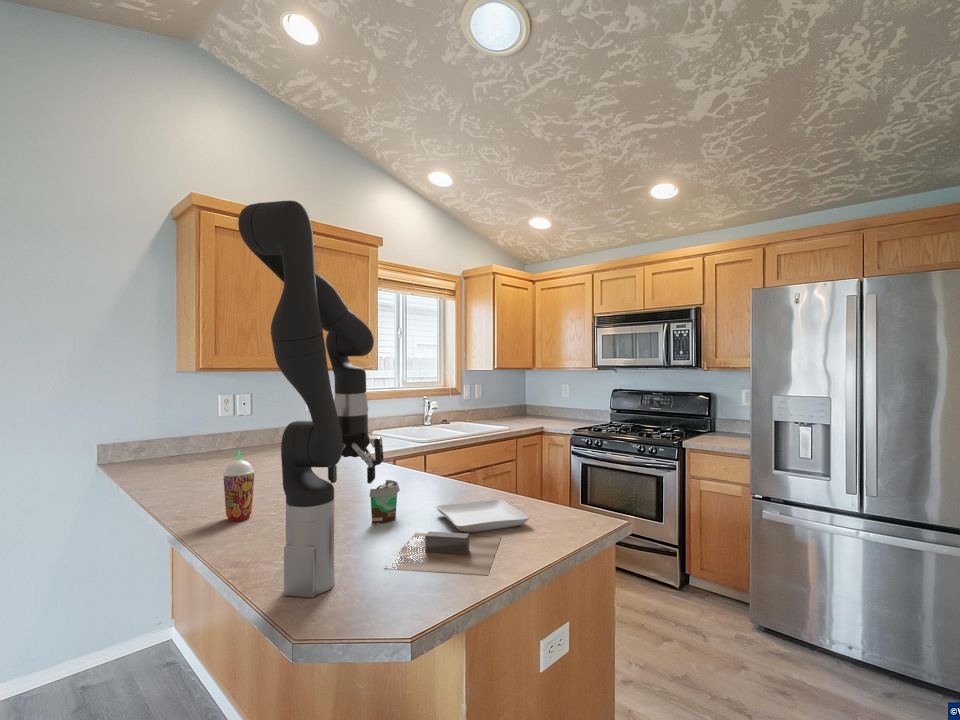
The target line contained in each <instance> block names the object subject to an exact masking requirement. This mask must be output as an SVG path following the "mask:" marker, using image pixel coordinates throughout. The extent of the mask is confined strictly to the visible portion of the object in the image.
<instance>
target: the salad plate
mask: <svg viewBox="0 0 960 720" xmlns="http://www.w3.org/2000/svg"><path fill="white" fill-rule="evenodd" d="M436 510H437V511H438V512H439V513H440V514H441V515H442V516H444V517H445V518H446V519H447V520H448V522H449V521H450V523H451V524H453V526H454V527H455V528H456V529H457V530H458V531H460V532H462V533H463V532H464V533H476V532H484V531H491V530H499V529H500V530H501V529H506V528H512V527H516V526H517V527H518V526H521V525H522V524H525V523H526V522H528V520H529V518H530V517H529V516H528V515H526V514H525V513H523V512H522V511H520V510H519V509H517V508H516V507H514V506H512V504H509V503H507V502H506V501H504V500H502V499H498V498H497V499H487V500H486V499H485V500H475V501H473V500H472V501H465V502H463V501H462V502H457V503H449V504H448V503H447V504H440V505H436Z"/></svg>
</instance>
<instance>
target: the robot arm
mask: <svg viewBox="0 0 960 720" xmlns="http://www.w3.org/2000/svg"><path fill="white" fill-rule="evenodd" d="M237 223H238V231H239V235H240V237H241V239H242V241H243V242H244V243H245V245H246V247H248V249H249V250H250V251H251V252H252V253H253V254H254V255H255V256H256V257H257V258H258V259H259V260H260V261H261V262H262V263H263V264H264V265H265V266H266V267H267V268H268V269H270V270H271V272H273V274H274V275H276V277H277V278H279V279H280V281H282V283H283V288H282V292H281V296H280V299H279V301H278V304H277V306H276V308H275V311H274V313H273V318H272V320H271V324H270V335H271V336H270V337H271V342H272V347H273V354H274V359H275V362H276V365H277V366H278V368H279V370H280V372H281V374H283V376H284V377H285V378H286V380H287V381H288V382H289V383H290V384H291V386H292V387H293V388H294V389H295V390H296V392H297V394H299V395H300V396H301V398H302V399H303V401H304V403H305V404H306V406H307V409H308V411H309V415H310V418H311V420H296V421H291V422H290V423H289V424H288V425H287V426H286V427H285V429H284V431H283V434H282V437H281V444H280V458H281V459H280V460H281V469H282V470H281V473H282V474H281V475H282V488H283V492H284V494H285V546H284V547H283V595H284V596H287V597H288V596H290V597H301V598H302V597H303V598H315V597H316V596H318V595H320V594H323V593H326V592H328V591H329V590H330V589H332V588H333V586H335V488H334V485H333V484H335V483H336V482H337V480H338V478H337V477H338V475H337V472H338V471H337V470H338V469H337V468H338V467H337V464H338V463H339V462H340V461H341V458H342V457H343V458H349V457H352V458H358V457H359V458H360V459H362V461H364V463H366V465H367V467H366V474H367V478H366V479H367V480H366V481H367V484H372V483H373V482H374V481H375V478H376V467H377V466H379V465H381V463H383V462H384V446H383V438H382V437H381V436H378V437H371V438H370V437H369V421H368V419H369V415H368V414H369V405H368V403H369V402H368V395H367V372H366V370H365V369H364V368H362V367H361V366H356V365H353V364H352V363H351V361H350V357H363V356H367V355H368V354H370V353H371V352H372V351H373V348H374V343H375V342H374V341H375V340H374V335H373V332H372V330H371V329H370V328H369V326H368V325H367V324H366V323H365V321H363V320H362V319H360V318H359V317H358V316H357V315H356V314H355V313H354V312H352V311H351V310H350V309H348V306H347V305H346V303H345V301H344V300H343V299H342V298H343V297H341V296H340V294H339V292H338V291H337V289H336V288H335V287H334V286H333V285H332V284H331V283H330V282H329V281H327V279H325V277H323V276H321V275H319V274H318V273H317V272H316V267H315V265H316V262H315V246H314V244H315V243H314V232H313V227H312V223H311V219H310V216H309V214H308V212H307V210H306V208H305V207H304V206H303V205H302V203H300V202H298V201H296V200H278V201H267V202H257V203H251V204H249V205H247V206H245V207H244V208H243V209H242V210H241V212H240V213H239V217H238V221H237ZM324 331H325V332H327V335H326V338H325V337H324ZM326 350H327V351H326ZM327 355H328V358H329V361H330V365H331V368H332V371H333V376H334V396H333V391H332V385H331V380H330V379H331V378H330V374H329V367H328V360H327ZM370 444H371V446H372V448H374V455H375V456H374V457H373V456H372V453H371V451H369V449H368V446H369V445H370ZM312 468H327V479H328V481H327V480H326V479H324V478H322V477H319V475H317V474H316V473H315V472H314V470H313V469H312ZM329 481H330V482H329Z"/></svg>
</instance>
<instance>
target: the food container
mask: <svg viewBox="0 0 960 720" xmlns="http://www.w3.org/2000/svg"><path fill="white" fill-rule="evenodd" d="M399 492H400V486H399V483H398V481H396V480H391V479H390V480H389V479H386V480H385V483H384V484H380V485H379V486H377V487H376V488H370V489H369V497H370V511H371V524H372V523H374V525H376V524H377V523H379V524H386V522H387V523H390V522H393V521H395V520H396V517H397V502H398V493H399ZM394 519H395V520H394Z"/></svg>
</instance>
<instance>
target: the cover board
mask: <svg viewBox="0 0 960 720" xmlns="http://www.w3.org/2000/svg"><path fill="white" fill-rule="evenodd" d="M419 536H420V537H421V536H423V537H425V538H423V537H422V539H424V540H423V541H424V542H423V541H421V542H420V541H419V542H420V543H421V544H420V543H418V542H417V541H416V542H417V543H418V544H419V545H418V544H417V543H415V542H414V543H415V544H417V545H418V546H420V545H421V546H420V547H422V546H423V547H422V548H420V547H418V546H417V545H416V546H417V547H414V546H413V547H414V548H413V547H412V546H410V545H408V544H409V543H410V542H409V540H408V541H407V542H406V543H405V544H404V545H403V546H402V547H401V548H400V550H401V551H400V550H399V551H400V552H401V553H400V552H399V551H398V552H397V553H399V555H400V554H401V555H402V554H404V555H402V556H403V557H402V556H401V555H400V559H401V560H400V559H399V560H400V561H402V560H403V559H404V560H403V561H404V562H403V561H402V562H400V561H399V560H398V559H397V560H398V561H399V562H398V564H400V565H398V564H397V563H395V564H397V565H396V566H397V569H398V570H397V571H408V570H409V571H410V570H412V571H411V572H423V571H425V572H424V573H441V574H442V573H443V574H456V575H457V574H458V575H469V576H470V575H474V576H489V574H490V571H491V568H492V565H493V563H494V560H495V557H496V554H497V551H498V548H499V545H500V543H501V540H502V536H488V535H487V536H485V535H484V536H483V535H470V533H469V532H464V533H463V532H445V531H444V532H443V531H428V532H427V533H425V532H424V533H423V532H415V533H414V534H413V535H412V536H411V537H412V538H413V537H415V538H416V537H417V539H418V538H419ZM412 538H410V539H412ZM420 539H421V538H420ZM412 540H413V539H412ZM406 544H407V545H408V546H407V545H406ZM415 544H414V545H415ZM405 545H406V546H407V547H409V546H410V547H411V550H410V549H409V548H410V547H409V548H407V547H406V546H405ZM411 545H412V544H411ZM412 548H413V549H412ZM415 548H416V549H415ZM418 548H419V553H418ZM407 549H408V550H407ZM420 549H422V550H420ZM424 549H425V550H424ZM409 550H410V551H409ZM412 550H413V551H412ZM415 550H416V551H415ZM407 551H408V552H407ZM420 551H422V552H420ZM424 551H425V552H424ZM410 552H411V554H410ZM412 552H413V553H414V554H413V553H412ZM415 552H416V553H415ZM407 553H408V554H409V555H408V554H407ZM420 553H422V554H423V555H422V554H420ZM424 553H425V554H424ZM405 554H406V555H405ZM415 554H417V555H418V554H420V555H421V556H420V555H418V556H419V557H423V558H419V557H418V556H416V555H415ZM411 555H412V556H413V555H415V556H416V557H417V558H416V557H415V556H413V557H415V558H416V559H418V558H419V559H418V560H419V561H418V560H416V559H415V558H413V557H412V558H413V559H415V560H416V561H414V560H413V559H411V558H410V557H409V556H411ZM397 556H398V555H397ZM407 557H409V558H410V559H409V558H407ZM420 559H421V560H420ZM422 560H423V561H422ZM395 561H396V560H395ZM409 561H410V562H409ZM420 561H422V562H420ZM414 562H415V563H414ZM393 564H394V563H393ZM393 564H392V566H393ZM401 564H402V565H401ZM392 568H394V569H395V568H396V567H395V566H394V567H392Z"/></svg>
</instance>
